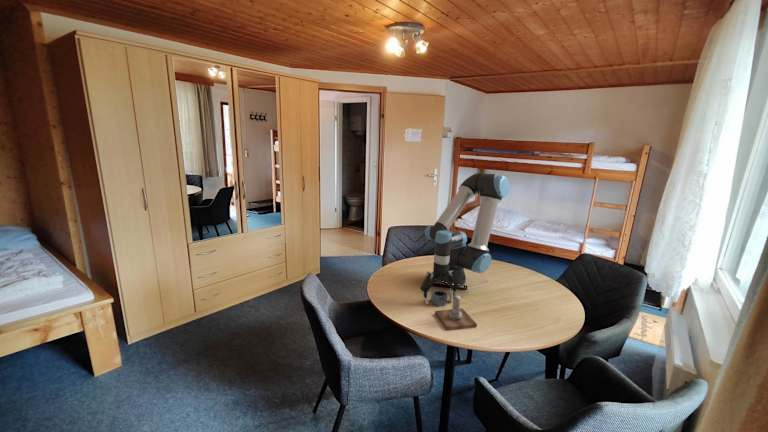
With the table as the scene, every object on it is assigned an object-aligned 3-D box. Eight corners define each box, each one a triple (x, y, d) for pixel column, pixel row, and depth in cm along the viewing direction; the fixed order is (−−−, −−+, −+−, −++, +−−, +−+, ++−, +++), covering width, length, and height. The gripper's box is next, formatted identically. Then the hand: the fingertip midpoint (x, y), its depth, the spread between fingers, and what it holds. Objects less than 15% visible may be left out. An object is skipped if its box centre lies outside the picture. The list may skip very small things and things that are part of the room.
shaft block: (462, 311, 158) (464, 289, 155) (476, 327, 144) (479, 303, 142) (434, 313, 154) (436, 291, 152) (447, 330, 141) (449, 305, 139)
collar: (442, 298, 170) (443, 289, 168) (448, 305, 163) (449, 296, 161) (429, 299, 168) (429, 290, 167) (434, 306, 161) (435, 297, 160)
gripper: (461, 258, 167) (457, 297, 171) (415, 260, 161) (413, 300, 166) (468, 263, 159) (464, 303, 164) (420, 266, 154) (417, 308, 159)
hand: (438, 302), depth 165 cm, fingers open, 12 cm apart
